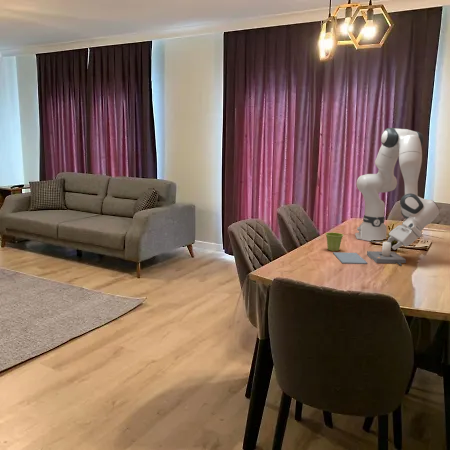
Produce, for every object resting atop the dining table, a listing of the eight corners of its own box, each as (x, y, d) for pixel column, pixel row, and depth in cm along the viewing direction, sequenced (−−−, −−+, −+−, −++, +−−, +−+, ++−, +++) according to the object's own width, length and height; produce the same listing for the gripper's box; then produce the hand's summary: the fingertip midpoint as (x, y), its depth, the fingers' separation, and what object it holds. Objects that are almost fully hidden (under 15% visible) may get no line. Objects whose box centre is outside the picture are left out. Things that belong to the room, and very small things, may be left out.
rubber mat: (333, 253, 246) (333, 252, 246) (356, 253, 246) (356, 252, 246) (342, 263, 227) (342, 262, 226) (367, 264, 227) (367, 262, 226)
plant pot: (343, 248, 257) (344, 233, 255) (341, 252, 248) (342, 236, 247) (325, 247, 260) (326, 231, 258) (323, 251, 251) (324, 235, 250)
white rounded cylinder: (379, 258, 239) (380, 241, 237) (388, 258, 239) (390, 241, 237) (382, 260, 234) (383, 243, 233) (391, 260, 234) (393, 243, 233)
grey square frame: (366, 255, 244) (367, 250, 244) (394, 255, 244) (394, 251, 244) (379, 265, 224) (380, 261, 223) (409, 266, 224) (409, 261, 223)
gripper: (399, 219, 243) (378, 237, 245) (415, 226, 223) (392, 246, 225) (407, 228, 244) (386, 246, 246) (423, 236, 224) (401, 255, 226)
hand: (389, 246), depth 235 cm, fingers open, 8 cm apart
